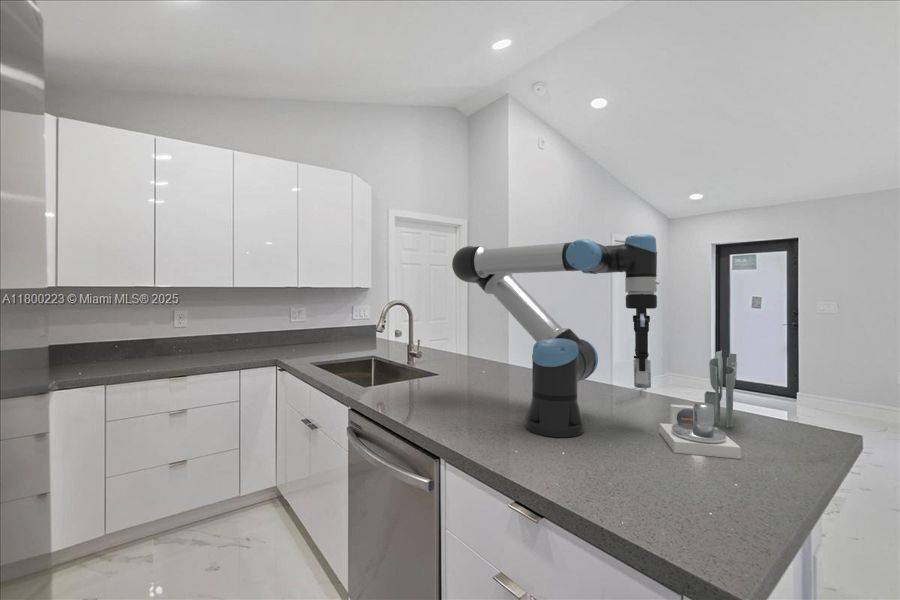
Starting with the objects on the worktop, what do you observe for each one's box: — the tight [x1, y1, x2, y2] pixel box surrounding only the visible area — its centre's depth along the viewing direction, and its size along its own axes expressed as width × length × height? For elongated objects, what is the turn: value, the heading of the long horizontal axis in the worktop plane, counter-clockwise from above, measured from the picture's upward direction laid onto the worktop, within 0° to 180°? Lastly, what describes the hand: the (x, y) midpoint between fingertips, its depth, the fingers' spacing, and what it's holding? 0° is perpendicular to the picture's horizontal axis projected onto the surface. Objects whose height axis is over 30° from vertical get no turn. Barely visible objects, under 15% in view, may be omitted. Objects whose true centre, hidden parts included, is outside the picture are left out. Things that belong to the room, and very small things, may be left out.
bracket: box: [704, 349, 738, 429], centre depth 114 cm, size 28×7×20 cm, turn 143°
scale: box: [659, 403, 742, 460], centre depth 98 cm, size 13×16×7 cm
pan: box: [672, 423, 727, 443], centre depth 96 cm, size 11×11×1 cm
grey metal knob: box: [692, 401, 715, 438], centre depth 93 cm, size 4×4×7 cm
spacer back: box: [633, 358, 652, 389], centre depth 107 cm, size 4×4×7 cm
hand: (641, 381), depth 107 cm, fingers closed on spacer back, 4 cm apart
